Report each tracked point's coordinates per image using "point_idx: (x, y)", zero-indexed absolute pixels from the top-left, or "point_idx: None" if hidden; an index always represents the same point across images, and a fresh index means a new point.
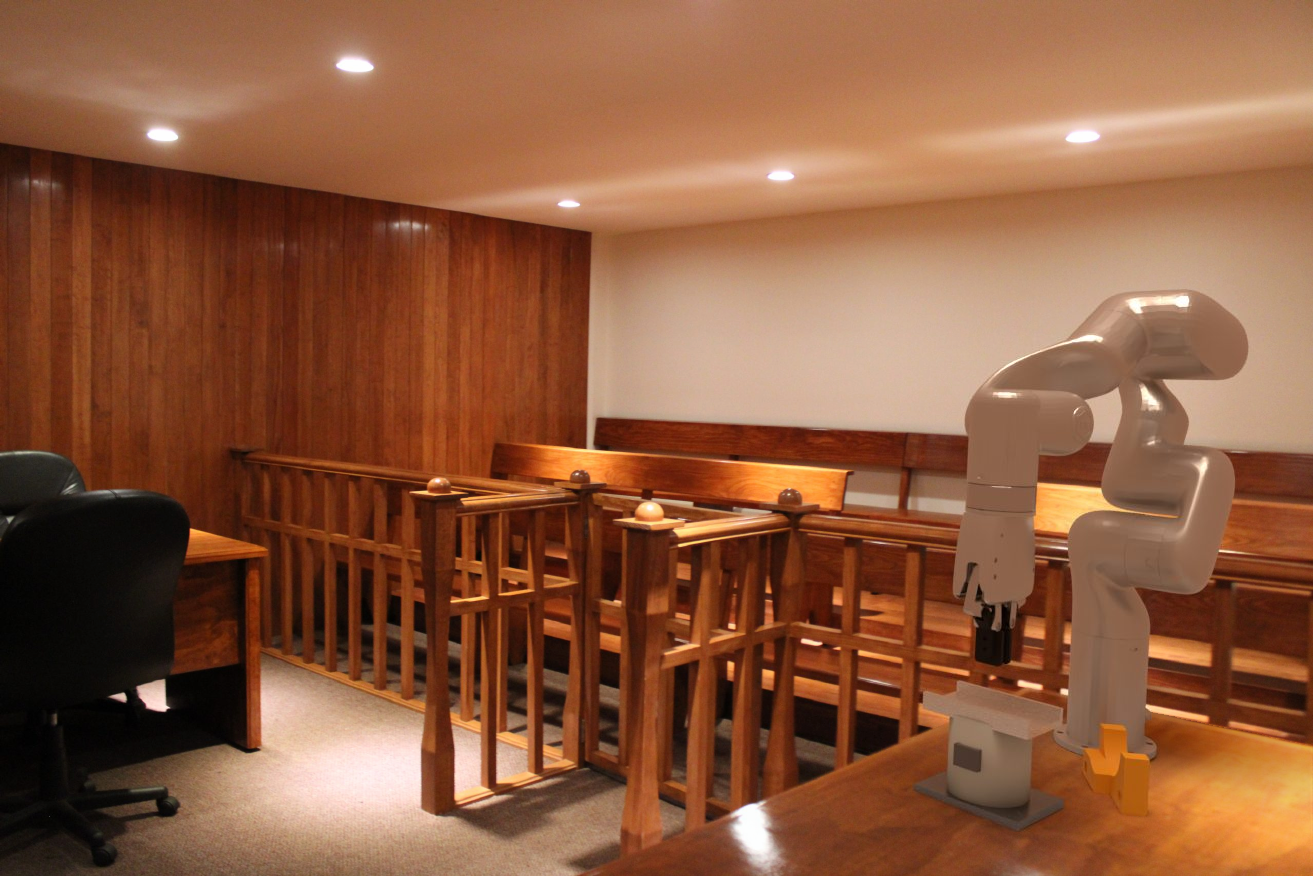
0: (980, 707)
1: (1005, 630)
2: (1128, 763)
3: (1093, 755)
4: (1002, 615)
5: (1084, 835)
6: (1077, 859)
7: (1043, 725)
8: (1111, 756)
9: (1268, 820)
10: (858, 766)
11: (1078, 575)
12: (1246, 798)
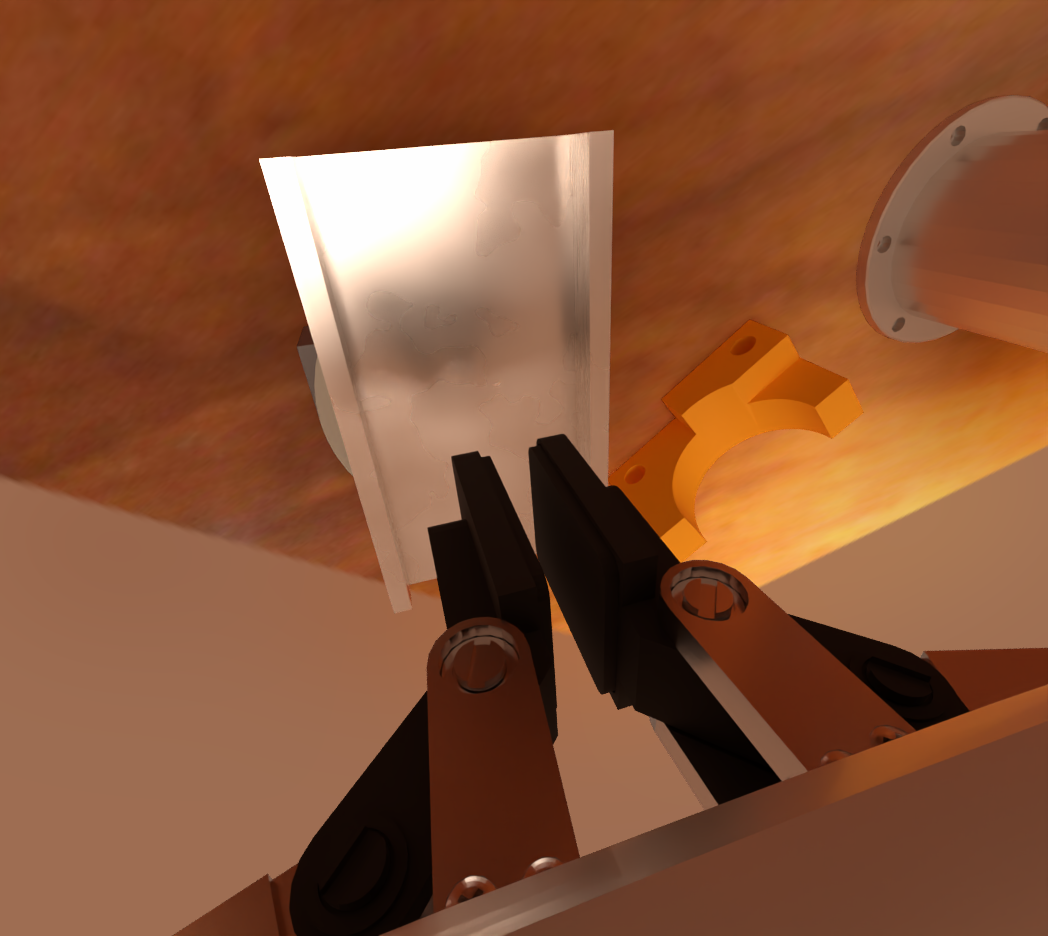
0: (357, 465)
1: (604, 688)
2: None
3: (753, 377)
4: (708, 716)
5: None
6: (371, 561)
7: None
8: (761, 409)
9: (743, 567)
10: None
11: None
12: (807, 514)
